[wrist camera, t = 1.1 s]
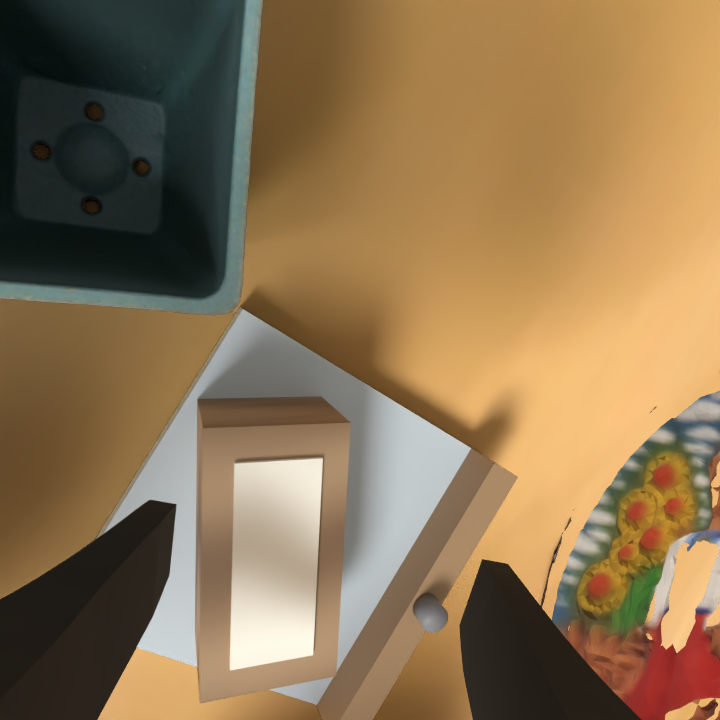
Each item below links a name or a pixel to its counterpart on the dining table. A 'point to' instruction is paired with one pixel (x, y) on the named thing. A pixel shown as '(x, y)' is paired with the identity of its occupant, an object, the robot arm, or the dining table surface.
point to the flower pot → (127, 151)
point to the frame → (268, 542)
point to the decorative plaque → (649, 570)
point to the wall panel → (362, 520)
